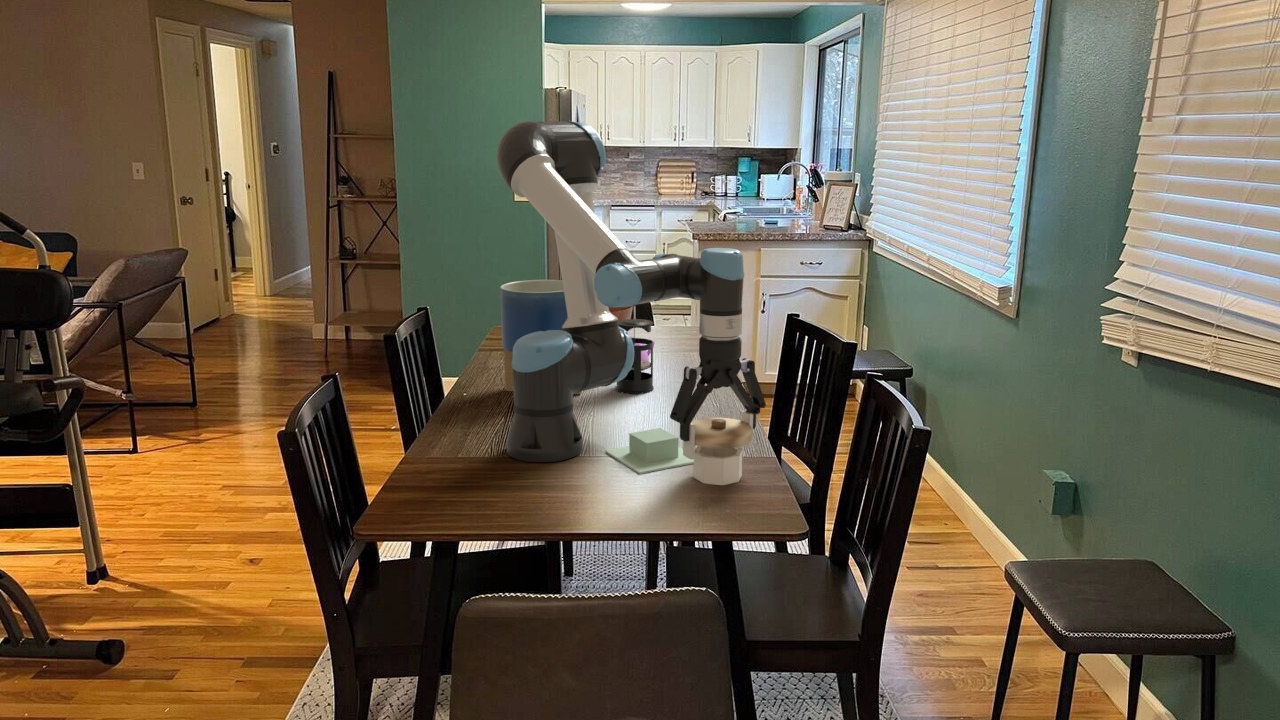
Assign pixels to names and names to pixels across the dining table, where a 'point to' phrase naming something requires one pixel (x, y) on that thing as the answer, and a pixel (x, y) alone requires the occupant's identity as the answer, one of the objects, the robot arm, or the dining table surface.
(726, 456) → the ramekin
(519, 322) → the planter
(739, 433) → the lid
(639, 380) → the french press
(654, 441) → the mat stand
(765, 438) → the dining table surface
